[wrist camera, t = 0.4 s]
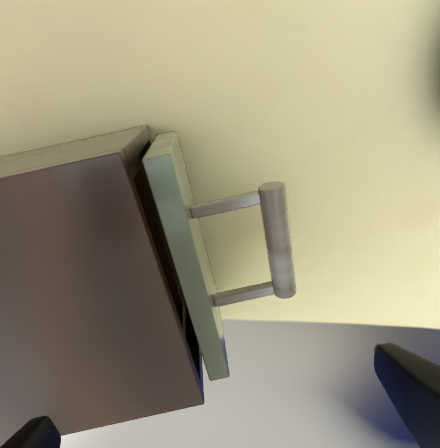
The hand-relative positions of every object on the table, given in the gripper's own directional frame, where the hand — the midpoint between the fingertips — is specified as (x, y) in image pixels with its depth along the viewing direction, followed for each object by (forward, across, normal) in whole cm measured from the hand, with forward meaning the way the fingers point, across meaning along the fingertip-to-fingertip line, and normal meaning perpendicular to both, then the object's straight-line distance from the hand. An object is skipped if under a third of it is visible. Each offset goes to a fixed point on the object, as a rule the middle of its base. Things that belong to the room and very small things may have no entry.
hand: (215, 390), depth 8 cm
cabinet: (+14, -10, -2) cm, 18 cm away
